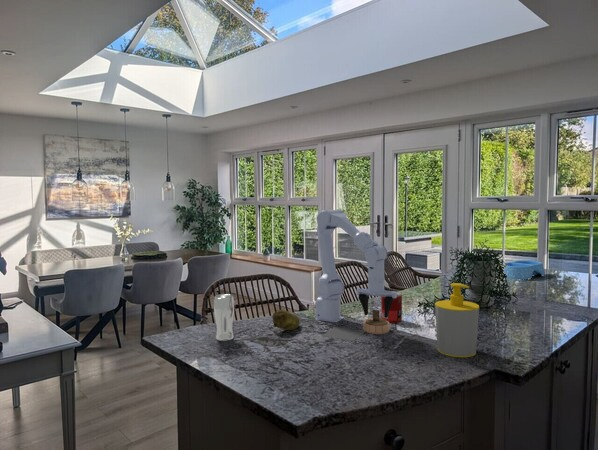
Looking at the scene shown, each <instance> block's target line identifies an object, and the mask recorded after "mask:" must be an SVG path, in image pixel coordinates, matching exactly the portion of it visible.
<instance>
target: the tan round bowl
mask: <svg viewBox="0 0 598 450" xmlns="http://www.w3.org/2000/svg"><path fill="white" fill-rule="evenodd" d="M390 324H391V323H389V322H388V321H387V324H385V325H381V326H374V325H369V324H366V321H365V320H364V321H363V328H362V329H363V331H366V332H365V333H369V334H375V335H381V334H382V335H383V334H387V333H389V332H390V331H391V330H390V329H391V328H390V327H391V325H390Z"/></svg>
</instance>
